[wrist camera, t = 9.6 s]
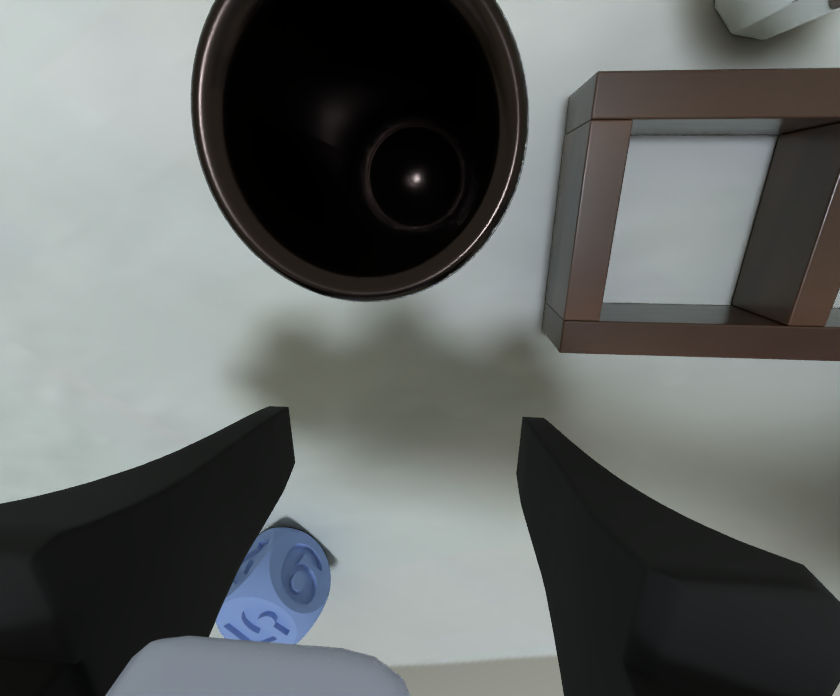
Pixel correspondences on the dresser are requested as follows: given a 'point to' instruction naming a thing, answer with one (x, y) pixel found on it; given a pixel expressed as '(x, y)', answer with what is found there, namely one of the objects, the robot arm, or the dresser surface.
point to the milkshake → (770, 15)
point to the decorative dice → (276, 589)
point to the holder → (772, 233)
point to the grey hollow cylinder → (360, 136)
